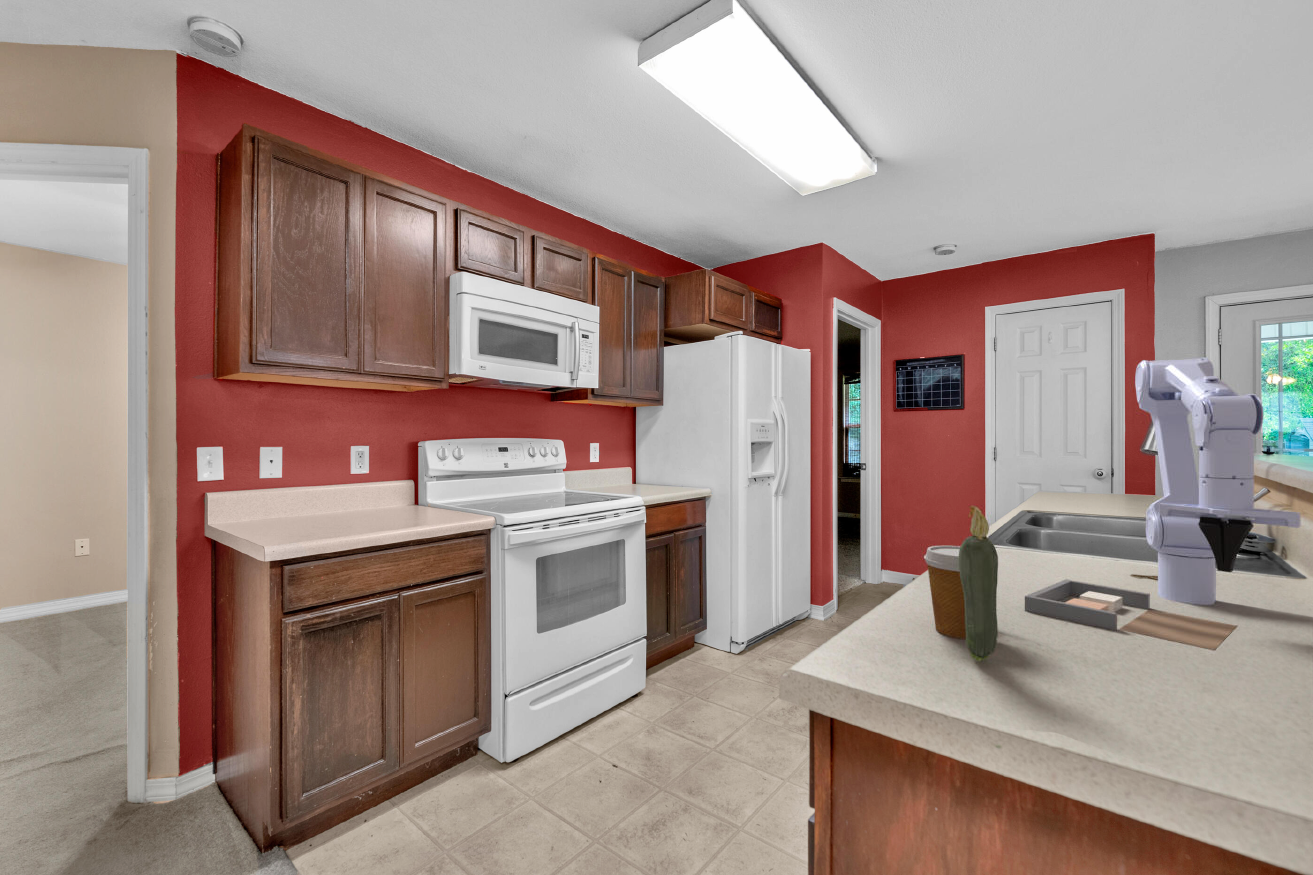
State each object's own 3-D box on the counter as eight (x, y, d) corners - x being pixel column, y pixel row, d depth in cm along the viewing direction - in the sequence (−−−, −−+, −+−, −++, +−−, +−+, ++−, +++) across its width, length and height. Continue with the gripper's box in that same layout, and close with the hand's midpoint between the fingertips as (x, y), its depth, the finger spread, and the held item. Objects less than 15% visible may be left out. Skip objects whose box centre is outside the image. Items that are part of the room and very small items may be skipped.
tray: (1065, 598, 102) (1066, 579, 102) (1149, 615, 93) (1149, 593, 93) (1024, 617, 92) (1024, 596, 92) (1114, 638, 82) (1114, 614, 82)
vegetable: (1003, 671, 71) (1003, 509, 71) (964, 668, 72) (965, 508, 72) (989, 657, 75) (990, 505, 75) (953, 654, 76) (954, 504, 76)
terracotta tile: (1073, 613, 93) (1073, 598, 93) (1108, 620, 89) (1108, 604, 89) (1063, 618, 90) (1063, 602, 90) (1098, 626, 86) (1099, 609, 86)
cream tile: (1088, 605, 97) (1089, 590, 97) (1122, 612, 93) (1122, 597, 93) (1079, 610, 94) (1079, 595, 94) (1113, 617, 91) (1113, 601, 91)
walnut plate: (1149, 616, 92) (1149, 609, 92) (1237, 633, 84) (1237, 625, 84) (1118, 637, 83) (1118, 629, 83) (1214, 659, 75) (1214, 649, 75)
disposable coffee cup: (991, 648, 78) (991, 560, 78) (916, 633, 84) (917, 552, 84) (1000, 629, 86) (1000, 549, 86) (931, 617, 92) (931, 542, 92)
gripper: (1154, 476, 87) (1153, 565, 87) (1296, 482, 76) (1295, 585, 76) (1166, 474, 92) (1165, 559, 92) (1302, 479, 80) (1302, 577, 80)
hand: (1225, 570), depth 84 cm, fingers closed
